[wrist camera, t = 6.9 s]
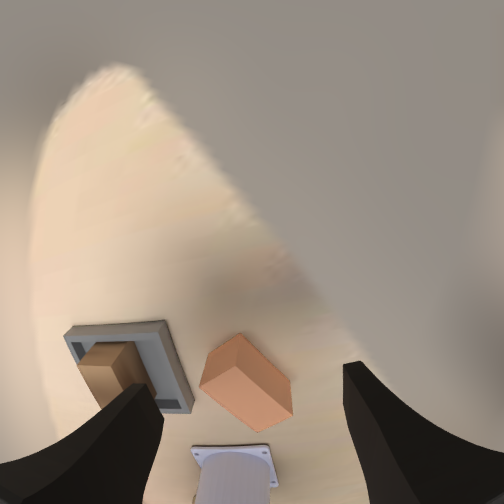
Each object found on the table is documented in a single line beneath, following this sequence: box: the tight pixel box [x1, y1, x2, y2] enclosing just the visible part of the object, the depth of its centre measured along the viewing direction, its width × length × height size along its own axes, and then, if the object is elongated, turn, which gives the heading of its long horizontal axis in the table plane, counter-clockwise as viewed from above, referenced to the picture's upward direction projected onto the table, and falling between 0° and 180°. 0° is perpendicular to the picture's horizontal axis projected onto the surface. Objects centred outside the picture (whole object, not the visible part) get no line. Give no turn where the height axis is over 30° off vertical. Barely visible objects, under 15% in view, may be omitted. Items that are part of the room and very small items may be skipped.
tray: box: [63, 320, 195, 414], centre depth 21 cm, size 8×9×2 cm
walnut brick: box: [77, 341, 157, 409], centre depth 20 cm, size 6×3×4 cm, turn 10°
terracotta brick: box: [199, 333, 293, 433], centre depth 20 cm, size 6×3×4 cm, turn 40°
